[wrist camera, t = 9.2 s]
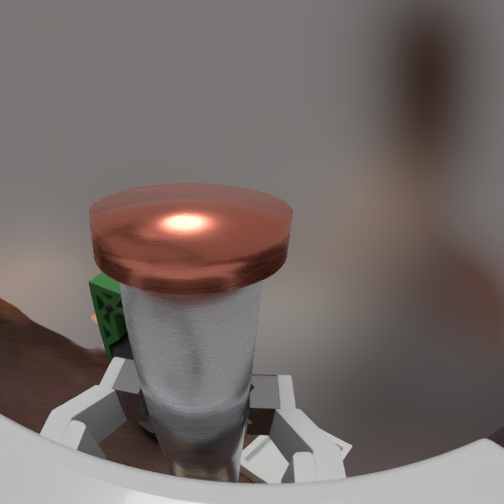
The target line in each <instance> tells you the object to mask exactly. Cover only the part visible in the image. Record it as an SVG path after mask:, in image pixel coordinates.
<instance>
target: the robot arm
mask: <svg viewBox="0 0 504 504" xmlns="http://www.w3.org/2000/svg"><path fill="white" fill-rule="evenodd" d="M127 419H132V420H137V421H143V422H148V419H149V412H148V409H147V406H146V403H145V399H144V396H143V392H142V389H141V385H140V382H139V378H138V374H137V370H136V366H135V362H134V360H130V359H124V358H120V357H114V358H113V359H112V361H111V363H110V365H109V367H108V369H107V371H106V373H105V375H104V377H103V379H102V381H101V383H100V385H99V386H98V385H95V386H93V387H92V388H90V389H88V390H87V391H85V392H83V393H81V394H80V395H78V396H76V397H75V398H73V399H71V400H70V401H68V402H66V403H64V404H63V405H61V406H59V407H57V408H56V409H54V410H52V412H51V414H50V415H49V417H48V419H47V421H46V423H45V425H44V427H43V429H42V431H41V433H40V434H38V433H36V432H33V431H31V430H29V429H27V428H25V427H23V426H21V425H20V424H18V423H16V422H14V421H12V420H10V419H8V418H7V417H5V416H3V415H1V414H0V504H504V448H503V447H501V446H499V445H498V444H496V443H494V442H493V441H490V440H488V439H480V440H477V441H475V442H473V443H470V444H468V445H465V446H463V447H461V448H458V449H456V450H453V451H450V452H447V453H444V454H442V455H439V456H436V457H433V458H430V459H427V460H423V461H420V462H417V463H413V464H409V465H406V466H402V467H398V468H394V469H390V470H386V471H381V472H376V473H372V474H366V475H360V476H354V477H348V478H346V475H345V470H344V466H343V461H342V456H341V451H340V448H339V447H338V446H337V445H336V444H335V443H334V442H333V441H332V440H331V439H329V438H328V437H327V436H326V435H325V434H324V433H323V432H322V431H321V430H320V429H319V428H318V427H317V426H316V425H315V424H314V423H313V422H312V421H311V420H310V419H309V418H308V417H307V416H306V415H305V414H304V413H303V412H302V411H301V410H300V409H296V406H295V398H294V391H293V383H292V377H291V375H264V374H252V376H251V384H250V392H249V401H248V409H247V419H246V434H248V435H267V436H269V437H270V439H271V440H272V441H273V443H274V444H275V446H276V447H277V448H278V450H279V451H280V452H281V454H282V455H283V456H284V458H285V459H286V460H287V462H288V463H289V465H288V467H287V469H286V471H285V473H284V475H283V477H282V479H281V483H274V484H259V483H232V482H219V481H208V480H199V479H192V478H185V477H178V476H172V475H166V474H161V473H156V472H151V471H147V470H142V469H138V468H134V467H130V466H126V465H122V464H119V463H115V462H112V461H108V460H105V458H106V456H105V454H104V453H103V451H102V450H101V449H100V447H99V446H98V444H99V443H100V442H101V441H102V440H104V439H105V438H106V437H107V436H108V435H110V434H111V433H112V432H113V431H114V430H115V429H117V428H118V427H119V426H120V425H121V424H122V423H124V422H125V421H126V420H127Z"/></svg>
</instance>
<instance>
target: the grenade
mask: <svg viewBox="0 0 504 504" xmlns="http://www.w3.org/2000/svg"><path fill="white" fill-rule="evenodd" d="M89 286H90V291H91V296H92V300H93V305H94V309H95V313H96V317H97V321H98V325H99V329H100V332H101V336H102V340H103V343H104V347H105V350H106V353H107V356H108V360H109V363H111V361H112V359H113V358H114V357H120V358H124V359H130V360H134V358H133V354H132V350H131V345H130V341H129V336H128V331H127V326H126V321H125V316H124V311H123V305H122V299H121V293H120V287H119V282H118V281H116V280H114V279H112V278H110V277H109V276H107V275H106V274H105V273H104V272H103V273H102V274H100V275H98V276H97V277H95V278H94V279H92V280H90V281H89ZM136 421H137V420H136ZM137 422H138V423H139V424H140V425H141V426H142V427H143V428H144V429H145V430H146V431H147V432H148V433H149V434H150V435H151V436H153V437H154V438H156V439H157V436H156V433H155V431H154V428H153V425H152V422H151V419H150V415H149V419H148V422H143V421H137ZM157 440H158V439H157Z"/></svg>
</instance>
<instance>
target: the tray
mask: <svg viewBox="0 0 504 504" xmlns="http://www.w3.org/2000/svg"><path fill="white" fill-rule="evenodd" d="M320 430H321V429H320ZM321 431H322V432H323V433H324V434H325V435H326V436H327V437H328V438H329V439H331V440H332V441H333V442H334V443H335V444H336V445H337V446H338V447H339V448H340V451H341V456H342V461H343V459H344V458H345V456H346V455H347V453H348V452H349V450H350V449H351V447H352V445H350V444H348V443H346V442H344V441H342V440H340V439H338V438H336V437H334V436H332V435H330V434H328V433H326V432H325V431H323V430H321ZM288 465H289V463H288V462H287V460H286V459H285V458H284V456H283V455H282V454H281V452H280V451H279V450H278V448H277V447H276V446H275V444H274V443H273V441H272V440H271V439H270V437H269V436H267V435H259V436H258V437H257V438H256V439H255V440H254V441H253V442H252V443H251V444H250V445H248V446H247V447H246V448H245V449H244V450H243V451H242V455H241V463H240V470H239V472H240V473H241V474H242V475H244V476H245V477H247V478H248V479H250V480H251V481H252V482H254V483H259V484H274V483H281V479H282V477H283V475H284V473H285V471H286V469H287V467H288Z"/></svg>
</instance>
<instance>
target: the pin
mask: <svg viewBox="0 0 504 504" xmlns="http://www.w3.org/2000/svg"><path fill="white" fill-rule="evenodd" d="M292 215H293V211H292V208H291V207H290V206H289V205H288V204H287V203H286V202H284V201H282V200H281V199H279V198H277V197H274V196H272V195H269V194H266V193H263V192H259V191H255V190H250V189H246V188H240V187H234V186H227V185H216V184H200V183H177V184H160V185H152V186H144V187H138V188H132V189H128V190H124V191H120V192H117V193H114V194H111V195H108V196H106V197H104V198H102V199H100V200H98V201H97V202H96V203H94V204H93V205H92V206H91V208H90V210H89V218H90V227H91V237H92V245H93V252H94V259H95V262H96V264H97V266H98V267H99V268H100V270H101V271H102V272H104V273H105V274H106V275H107V276H109V277H110V278H112V279H114V280H116V281H118V282H119V287H120V293H121V299H122V305H123V311H124V316H125V321H126V326H127V331H128V336H129V341H130V345H131V350H132V354H133V358H134V362H135V366H136V370H137V374H138V378H139V382H140V385H141V389H142V392H143V396H144V399H145V403H146V406H147V409H148V412H149V415H150V419H151V422H152V425H153V428H154V431H155V433H156V436H157V439H158V442H159V445H160V447H161V450H162V453H163V455H164V458H165V461H166V463H167V466H168V468H169V471H170V473H171V475H172V476H178V477H185V478H192V479H199V480H208V481H219V482H232V483H238V478H239V470H240V463H241V455H242V448H243V440H244V432H245V425H246V417H247V409H248V401H249V392H250V384H251V376H252V368H253V359H254V351H255V342H256V333H257V324H258V316H259V307H260V298H261V289H262V280H264V279H266V278H268V277H269V276H271V275H273V274H274V273H276V272H277V271H278V270H279V269H280V268H281V267H282V266H283V264H284V263H285V261H286V258H287V253H288V246H289V238H290V231H291V222H292Z"/></svg>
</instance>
